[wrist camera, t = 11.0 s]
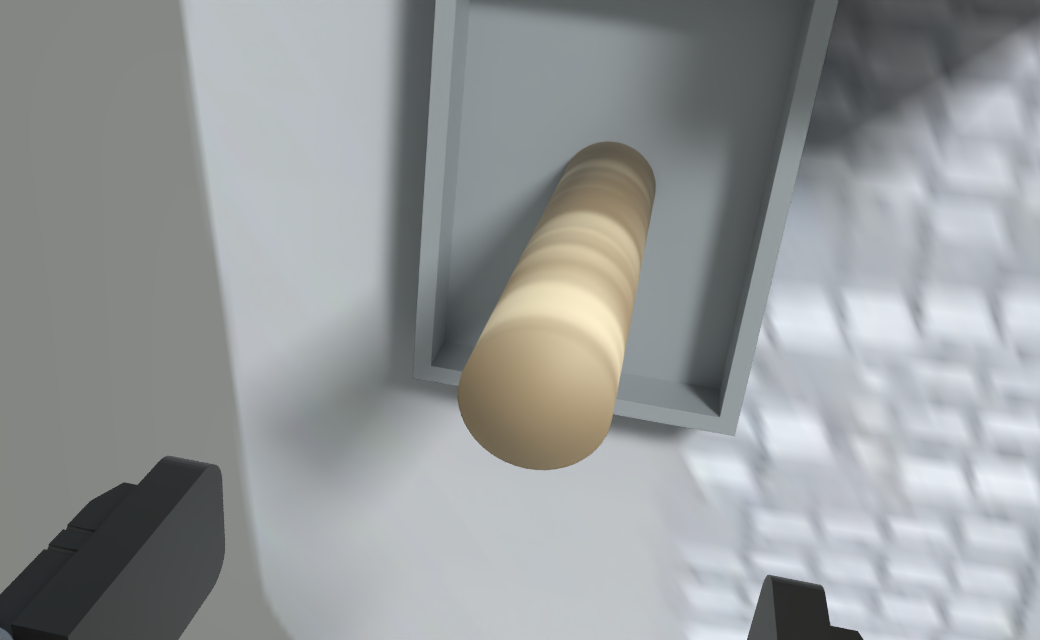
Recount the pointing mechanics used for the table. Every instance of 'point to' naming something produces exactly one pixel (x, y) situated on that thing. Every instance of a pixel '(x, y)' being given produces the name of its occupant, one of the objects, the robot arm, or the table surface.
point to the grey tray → (654, 134)
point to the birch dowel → (564, 317)
